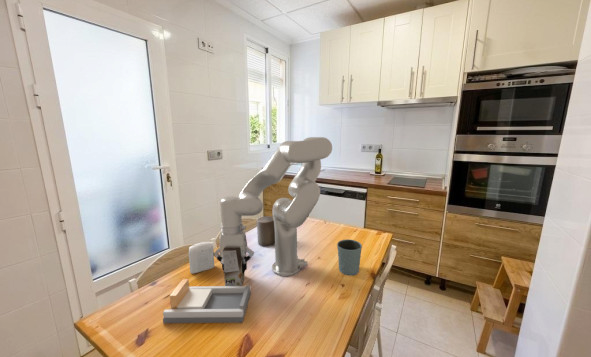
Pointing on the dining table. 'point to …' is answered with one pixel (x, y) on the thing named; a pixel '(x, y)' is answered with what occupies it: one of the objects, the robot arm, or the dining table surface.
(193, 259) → the photo printer
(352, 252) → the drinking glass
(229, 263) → the coffee box
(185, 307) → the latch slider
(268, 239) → the pillar candle
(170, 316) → the rail board
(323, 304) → the dining table surface
